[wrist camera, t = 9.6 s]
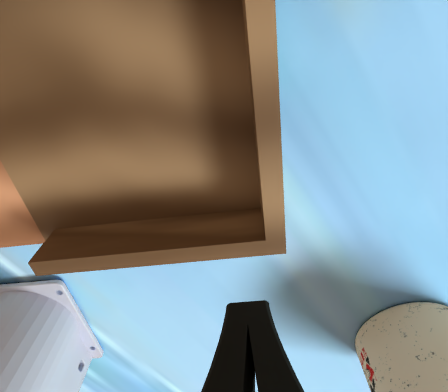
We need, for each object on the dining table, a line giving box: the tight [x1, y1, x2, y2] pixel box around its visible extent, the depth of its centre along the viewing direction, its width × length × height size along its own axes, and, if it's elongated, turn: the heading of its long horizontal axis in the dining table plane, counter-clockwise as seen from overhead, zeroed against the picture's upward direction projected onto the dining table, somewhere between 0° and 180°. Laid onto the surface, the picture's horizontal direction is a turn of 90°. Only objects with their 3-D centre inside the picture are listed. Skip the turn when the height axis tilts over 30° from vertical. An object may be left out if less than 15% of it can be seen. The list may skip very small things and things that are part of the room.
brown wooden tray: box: [0, 0, 286, 276], centre depth 15 cm, size 14×23×4 cm, turn 98°
